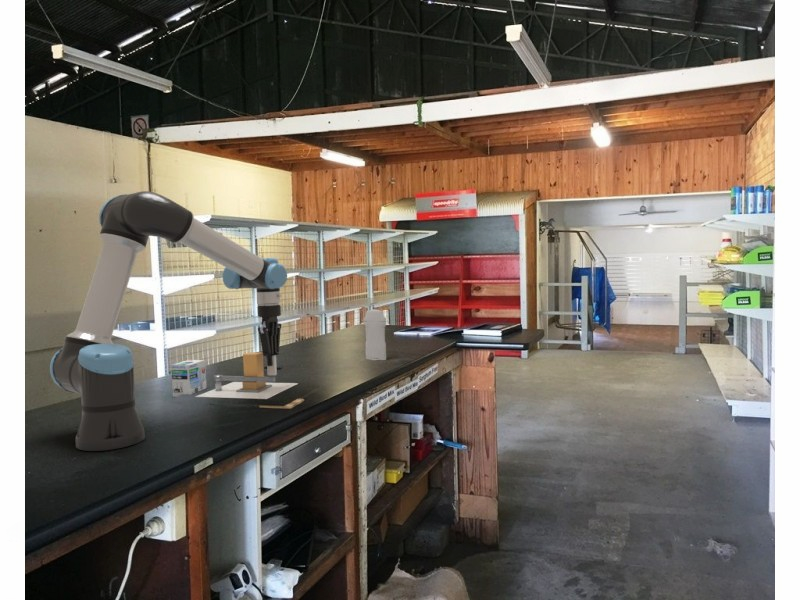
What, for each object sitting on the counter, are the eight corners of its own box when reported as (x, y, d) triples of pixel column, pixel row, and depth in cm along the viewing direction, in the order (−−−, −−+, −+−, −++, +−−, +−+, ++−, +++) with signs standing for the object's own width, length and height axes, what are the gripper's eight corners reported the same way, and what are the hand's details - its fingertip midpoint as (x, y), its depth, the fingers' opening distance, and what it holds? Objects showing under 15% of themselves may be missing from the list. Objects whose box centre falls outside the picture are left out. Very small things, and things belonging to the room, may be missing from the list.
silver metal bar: (272, 382, 193) (272, 377, 193) (211, 381, 199) (211, 376, 199) (276, 380, 196) (276, 375, 196) (216, 379, 202) (216, 374, 201)
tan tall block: (256, 391, 196) (254, 355, 195) (242, 391, 197) (241, 354, 197) (265, 387, 203) (264, 351, 202) (253, 386, 204) (251, 351, 203)
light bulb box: (190, 397, 195) (189, 364, 194) (171, 397, 196) (170, 364, 195) (207, 390, 205) (206, 359, 204) (189, 390, 206) (188, 359, 206)
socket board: (267, 402, 185) (266, 388, 185) (195, 399, 191) (194, 387, 191) (298, 386, 208) (298, 374, 208) (233, 384, 214) (233, 373, 214)
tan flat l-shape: (290, 408, 175) (290, 406, 175) (259, 407, 178) (259, 405, 178) (304, 400, 185) (304, 398, 185) (274, 399, 188) (274, 397, 188)
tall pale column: (389, 359, 262) (387, 309, 260) (385, 360, 258) (383, 309, 256) (367, 358, 266) (365, 308, 264) (363, 360, 262) (361, 309, 261)
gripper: (270, 306, 192) (273, 379, 193) (287, 302, 204) (290, 371, 206) (249, 306, 194) (252, 378, 195) (267, 303, 206) (270, 371, 208)
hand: (272, 374), depth 201 cm, fingers closed
